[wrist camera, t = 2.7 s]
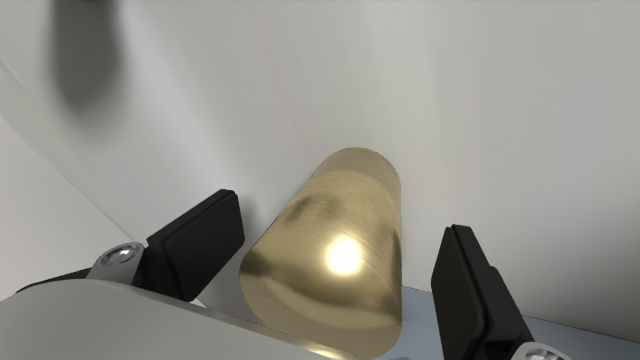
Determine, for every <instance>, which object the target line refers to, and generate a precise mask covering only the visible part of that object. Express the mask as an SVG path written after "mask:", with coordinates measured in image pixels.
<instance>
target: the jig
mask: <svg viewBox="0 0 640 360" xmlns="http://www.w3.org/2000/svg"><path fill="white" fill-rule="evenodd" d="M522 317H523V319H524V321H525V323H526V325H527V326H528V328H529V330H530V332H531V334H532V336H533V338H534V340H535V342H537V343H542V344H545V345H547V346H550V347H552V348H555V349H556V350H558V351H560V352H561V353H563V354H565V355H567V356H568V357H569V358H571V359H572V360H640V344H639V343H635V342H631V341H627V340H623V339H618V338H614V337H610V336H606V335H602V334H598V333H594V332H590V331H585V330H581V329H577V328H573V327H569V326H565V325H561V324H557V323H552V322H548V321H544V320H540V319H536V318H532V317H528V316H524V315H522ZM371 360H444V357H443V351H442V345H441V340H440V334H439V328H438V322H437V317H436V311H435V305H434V300H433V294H432V293H429V292H424V291H420V290H416V289H412V288H408V287H404V286H402V328H401V334H400V336H399V339H398V341H397V342H396V344H395V345H394V347H392V348H391V349H390V350H389V351H388V352H387V353H385V354H384V355H382V356H379V357H377V358H375V359H371Z"/></svg>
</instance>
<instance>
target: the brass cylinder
mask: <svg viewBox="0 0 640 360" xmlns="http://www.w3.org/2000/svg"><path fill="white" fill-rule="evenodd" d="M239 280H240V286H241V290H242V293H243V295H244V298H245V300H246V301H247V303H248V305H249V307H250V308H251V310H252V311H253V312H254V314H255V315H256V316H257V317H258V318H259V320H260V321H261V322H262V323H263V324H264V325H265V326H266V327H268V328H271V329H274V330H277V331H281V332H284V333H287V334H290V335H293V336H296V337H299V338H303V339H306V340H309V341H312V342H315V343H318V344H321V345H324V346H327V347H331V348H334V349H337V350H340V351H343V352H346V353H349V354H352V355H355V356H359V357H362V358H365V359H368V360H371V359H375V358H377V357H379V356H382V355H384V354H385V353H387V352H388V351H389V350H390V349H391V348H392V347H394V345H395V344H396V342H397V341H398V339H399V336H400V334H401V328H402V272H401V184H400V179H399V176H398V173H397V172H396V170H395V168H394V167H393V165H392V164H391V163H390V162H389V161H388V160H387V159H386V158H385V157H383V156H382V155H380V154H379V153H377V152H374V151H372V150H369V149H365V148H355V147H353V148H346V149H342V150H339V151H337V152H335V153H333V154H332V155H330V156H329V157H328V158H327V159H326V160H325V161H324V162H323V163H322V165H321V166H320V167H319V168H318V169H317V171H316V172H315V173H314V174H313V175H312V176H311V178H310V179H309V180H308V181H307V182H306V184H305V185H304V186H303V187H302V188H301V190H300V191H299V192H298V193H297V194H296V196H295V197H294V198H293V199H292V200H291V202H290V203H289V204H288V205H287V206H286V207H285V209H284V210H283V211H282V212H281V213H280V215H279V216H278V217H277V218H276V219H275V221H274V222H273V223H272V224H271V225H270V227H269V228H268V229H267V230H266V231H265V233H264V234H263V235H262V236H261V237H260V239H259V240H258V241H257V242H256V243H255V244H254V246H253V247H252V248H251V249H250V250H249V252H248V253H247V254H246V256H245V257H244V258H243V261H242V263H241V266H240V271H239Z"/></svg>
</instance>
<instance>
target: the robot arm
mask: <svg viewBox="0 0 640 360" xmlns="http://www.w3.org/2000/svg"><path fill="white" fill-rule="evenodd" d="M146 240H147V242H148V245H149V246H148V247H147V248H145V247H144V246H143V244H141V243H138V242H131V243H125V244H122V245H119V246H117V247H114V248H112V249H110V250H108V251H106V252H105V253H104V254H102V255H101V256H100V257H99V258H98V259H97V260H96V262H95V263H94V265H93V267H91V268H87V269H83V270H80V271H77V272H73V273H69V274H65V275H62V276H58V277H55V278H51V279H48V280H44V281H41V282H37V283H33V284H30V285H28V286H25V287H24V288H22V289H20V290H18V291H17V292H16V293H15V294H14V295H12V296H10V297H8V298H7V299H5V300H3V301H1V302H0V360H368V359H365V358H362V357H359V356H355V355H352V354H349V353H346V352H343V351H340V350H337V349H334V348H331V347H327V346H324V345H321V344H318V343H315V342H312V341H309V340H306V339H303V338H299V337H296V336H293V335H290V334H287V333H284V332H281V331H277V330H274V329H271V328H268V327H265V326H262V325H258V324H255V323H252V322H249V321H246V320H243V319H239V318H236V317H233V316H230V315H227V314H223V313H220V312H217V311H214V310H211V309H207V308H204V307H201V306H198V305H194V304H191V303H189V302H191V301H193V300H194V299H195V298H196V297H197V296H198V295H199V294H200V293H201V292H202V290H203V289H204V288H205V287H206V286H207V285H208V284H209V282H210V281H211V280H212V279H213V278H214V277H215V276H216V275H217V273H218V272H219V271H220V270H221V269H222V268H223V267H224V265H225V264H226V263H227V262H228V261H229V260H230V259H231V258H232V256H233V255H234V254H235V253H236V252H237V251H238V250H239V249H240V247H241V246H242V245H243V243H244V241H245V236H244V230H243V224H242V218H241V213H240V207H239V201H238V196H237V194H235V192H234V191H233V190H226V189H221V190H219V191H217V192H216V193H214V194H213V195H211V196H210V197H208V198H207V199H205V200H204V201H202V202H201V203H199V204H198V205H196V206H195V207H193V208H192V209H190V210H189V211H187V212H186V213H184V214H183V215H181V216H180V217H178V218H177V219H175V220H174V221H172V222H171V223H169V224H168V225H166V226H165V227H163V228H162V229H160V230H159V231H157V232H156V233H154V234H153V235H151V236H150V237H148V238H147V239H146ZM431 288H432V294H433V300H434V305H435V311H436V317H437V322H438V328H439V334H440V340H441V345H442V351H443V357H444V360H572V359H571V358H569V357H568V356H567V355H565V354H563V353H561V352H560V351H558V350H556V349H555V348H552V347H550V346H547V345H545V344H542V343H537V342H535V340H534V338H533V336H532V334H531V332H530V330H529V328H528V326H527V325H526V323H525V321H524V319H523V317H522V315H521V313H520V311H519V309H518V308H517V306H516V304H515V302H514V300H513V298H512V296H511V294H510V292H509V291H508V289H507V287H506V285H505V283H504V281H503V279H502V277H501V275H500V273H499V272H498V270H497V269H496V268H495V267H493V266H490V265H489V263H488V261H487V259H486V257H485V255H484V253H483V251H482V249H481V247H480V245H479V243H478V241H477V239H476V237H475V235H474V233H473V231H472V229H471V227H468V226H462V225H455V224H453V225H452V226H451V228H450V227H446V229H445V232H444V235H443V239H442V242H441V246H440V249H439V253H438V256H437V260H436V263H435V267H434V270H433V274H432V278H431Z"/></svg>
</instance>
